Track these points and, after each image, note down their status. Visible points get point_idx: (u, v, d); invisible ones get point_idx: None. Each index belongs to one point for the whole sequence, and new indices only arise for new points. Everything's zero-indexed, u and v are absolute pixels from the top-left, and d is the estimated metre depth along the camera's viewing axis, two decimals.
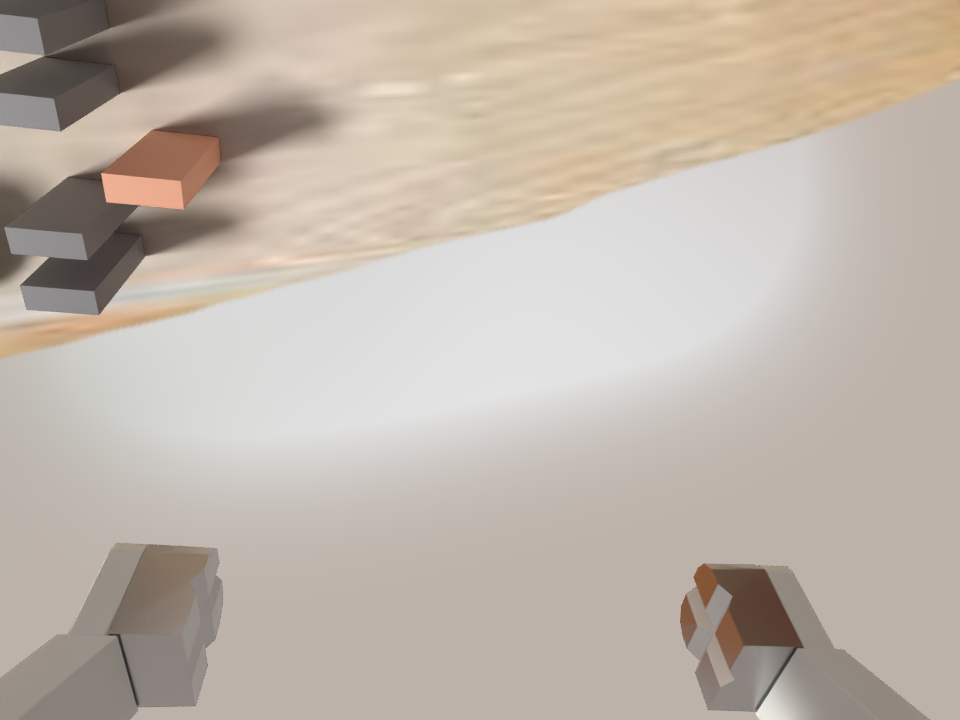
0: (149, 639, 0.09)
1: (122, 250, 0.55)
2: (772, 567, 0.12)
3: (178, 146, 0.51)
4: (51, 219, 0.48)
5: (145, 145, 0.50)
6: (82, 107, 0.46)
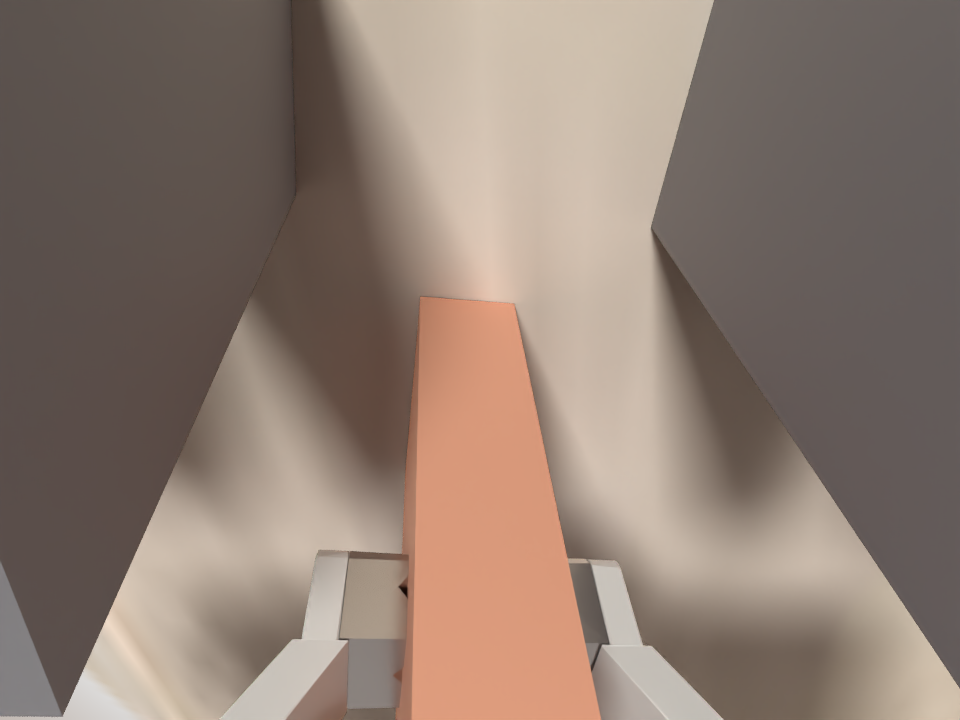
0: (374, 643, 0.10)
1: None
2: (600, 561, 0.11)
3: None
4: (94, 230, 0.05)
5: None
6: None
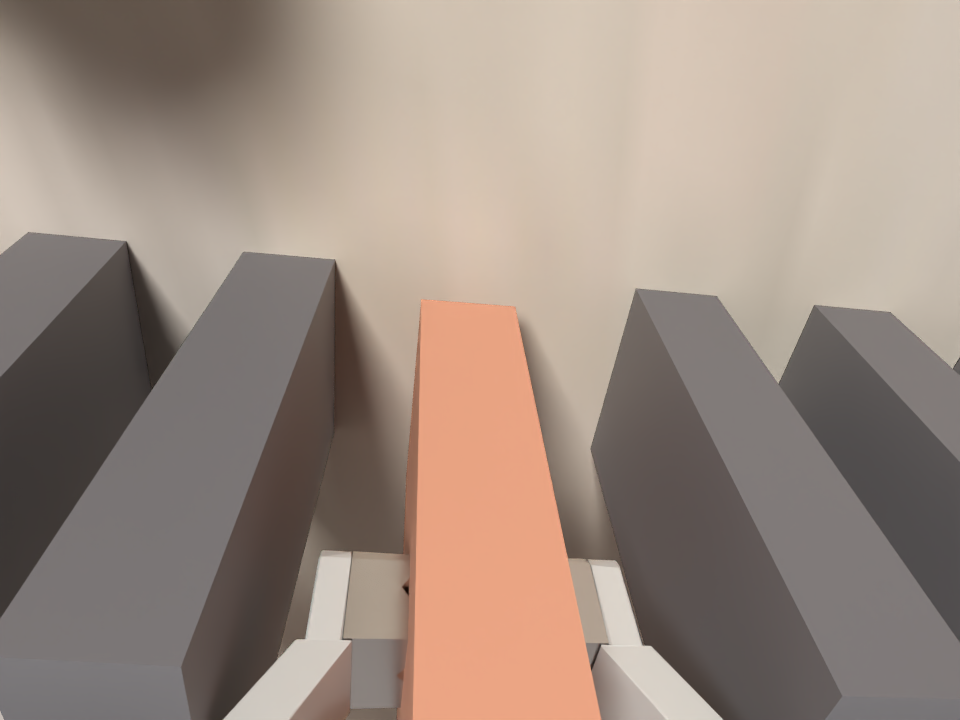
0: (377, 643, 0.10)
1: None
2: (599, 561, 0.11)
3: None
4: (243, 639, 0.10)
5: None
6: None
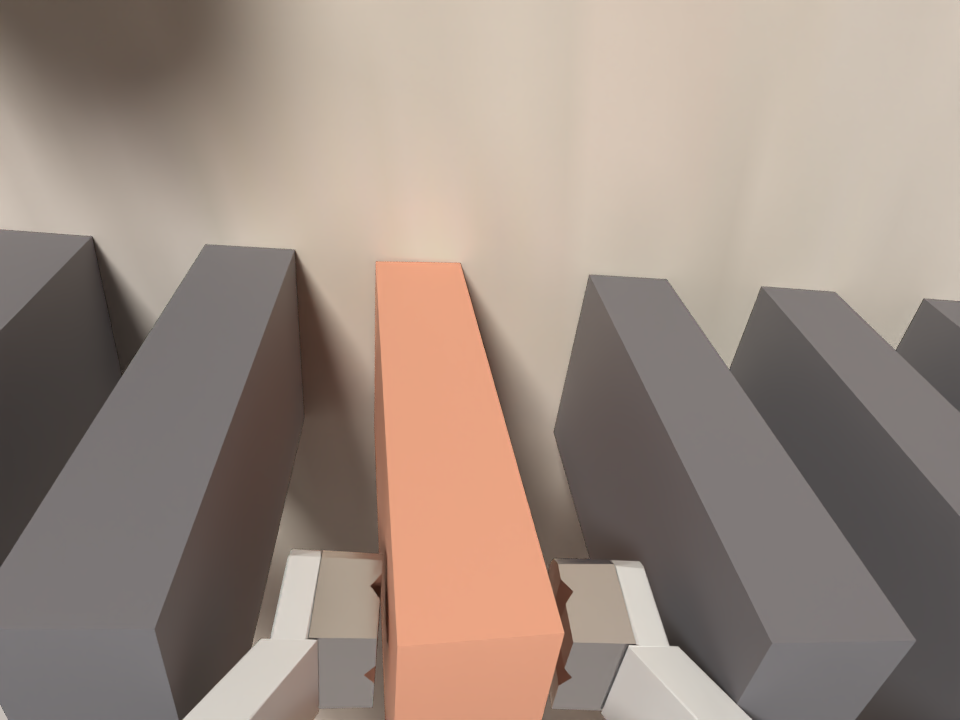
0: (344, 643, 0.10)
1: None
2: (623, 562, 0.11)
3: None
4: (218, 610, 0.10)
5: None
6: None
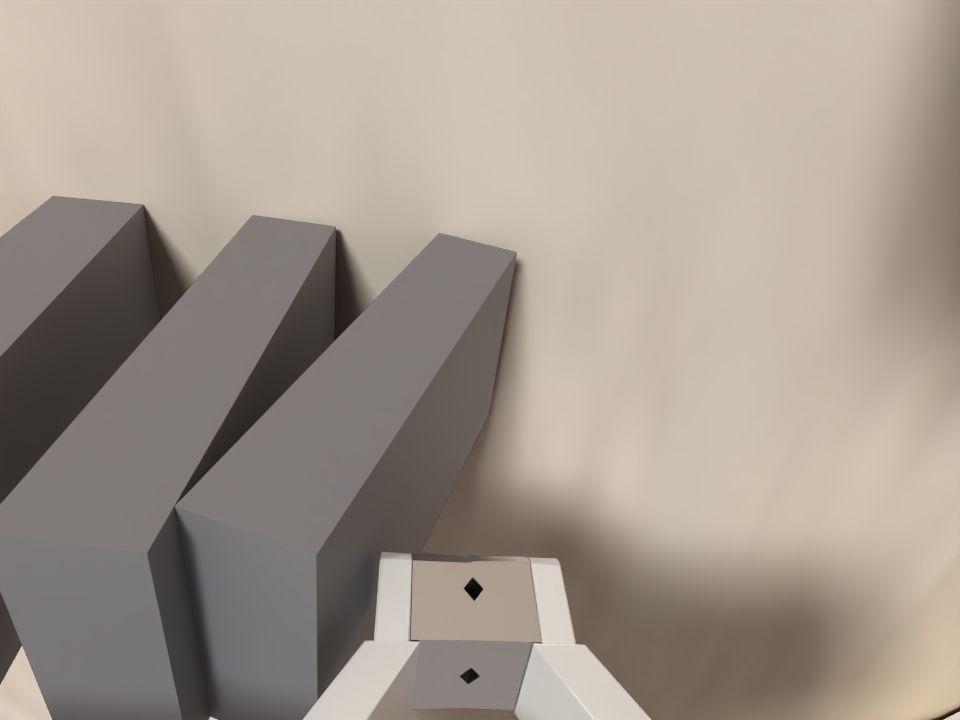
0: (444, 644, 0.10)
1: None
2: (540, 559, 0.11)
3: None
4: None
5: None
6: None
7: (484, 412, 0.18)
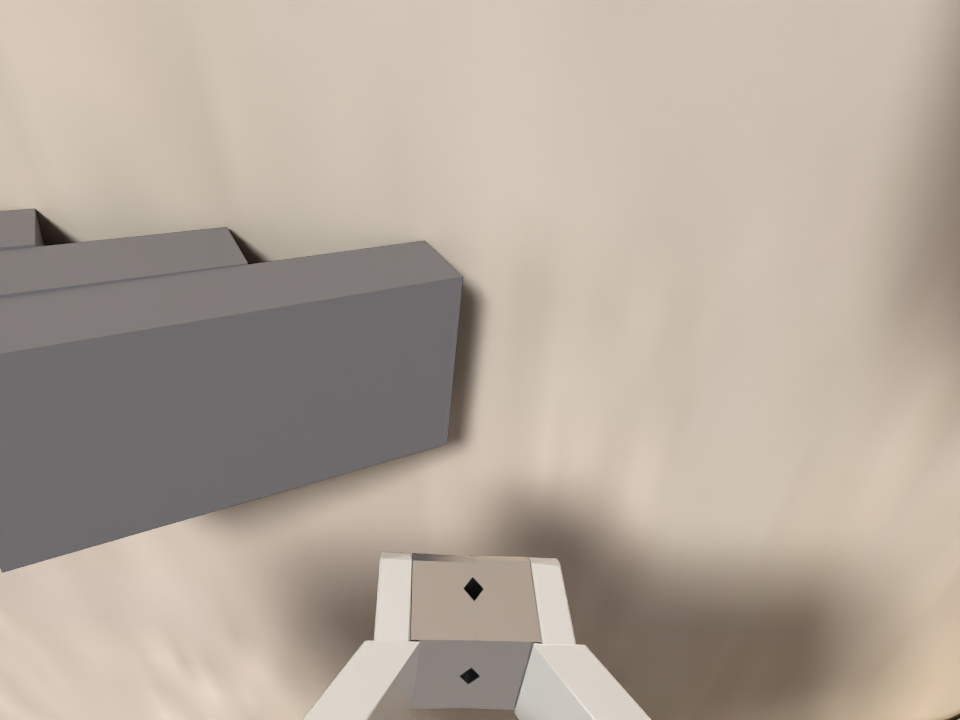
0: (444, 645, 0.10)
1: None
2: (540, 559, 0.11)
3: None
4: None
5: None
6: None
7: (423, 434, 0.18)
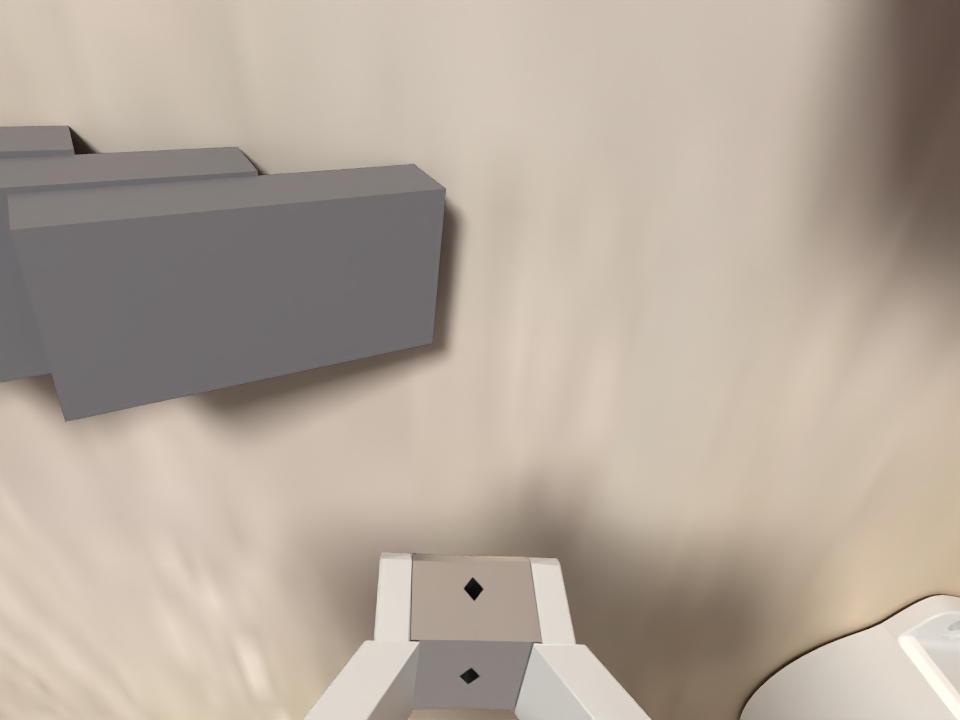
0: (444, 644, 0.10)
1: None
2: (540, 559, 0.11)
3: None
4: None
5: None
6: None
7: (412, 331, 0.21)
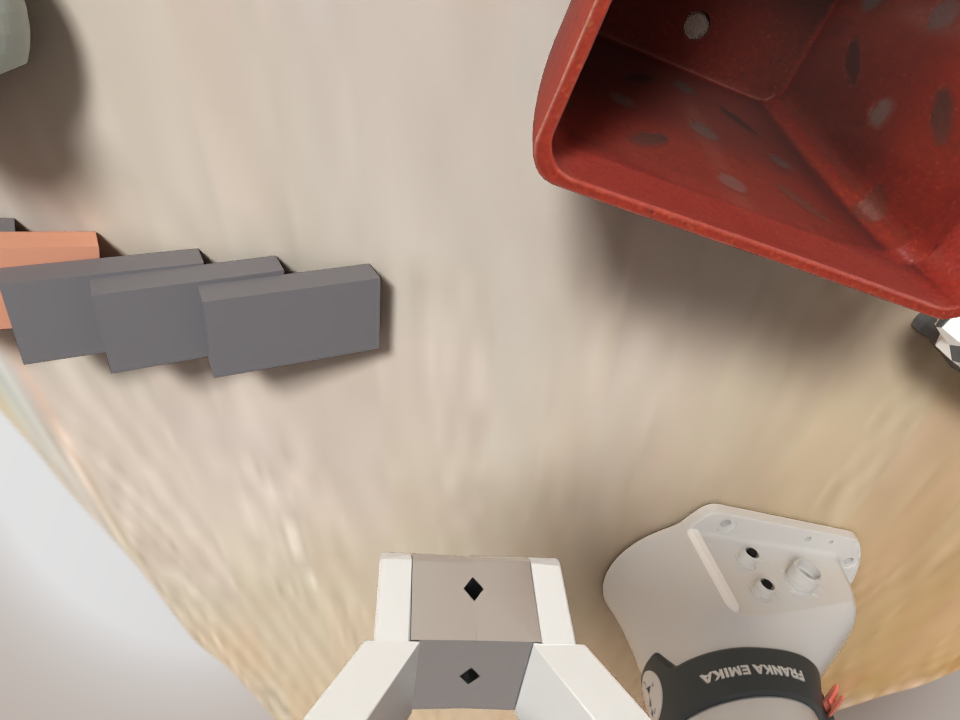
0: (443, 645, 0.10)
1: None
2: (540, 559, 0.11)
3: None
4: None
5: (21, 259, 0.37)
6: None
7: (368, 342, 0.43)
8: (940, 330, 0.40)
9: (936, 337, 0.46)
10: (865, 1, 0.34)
